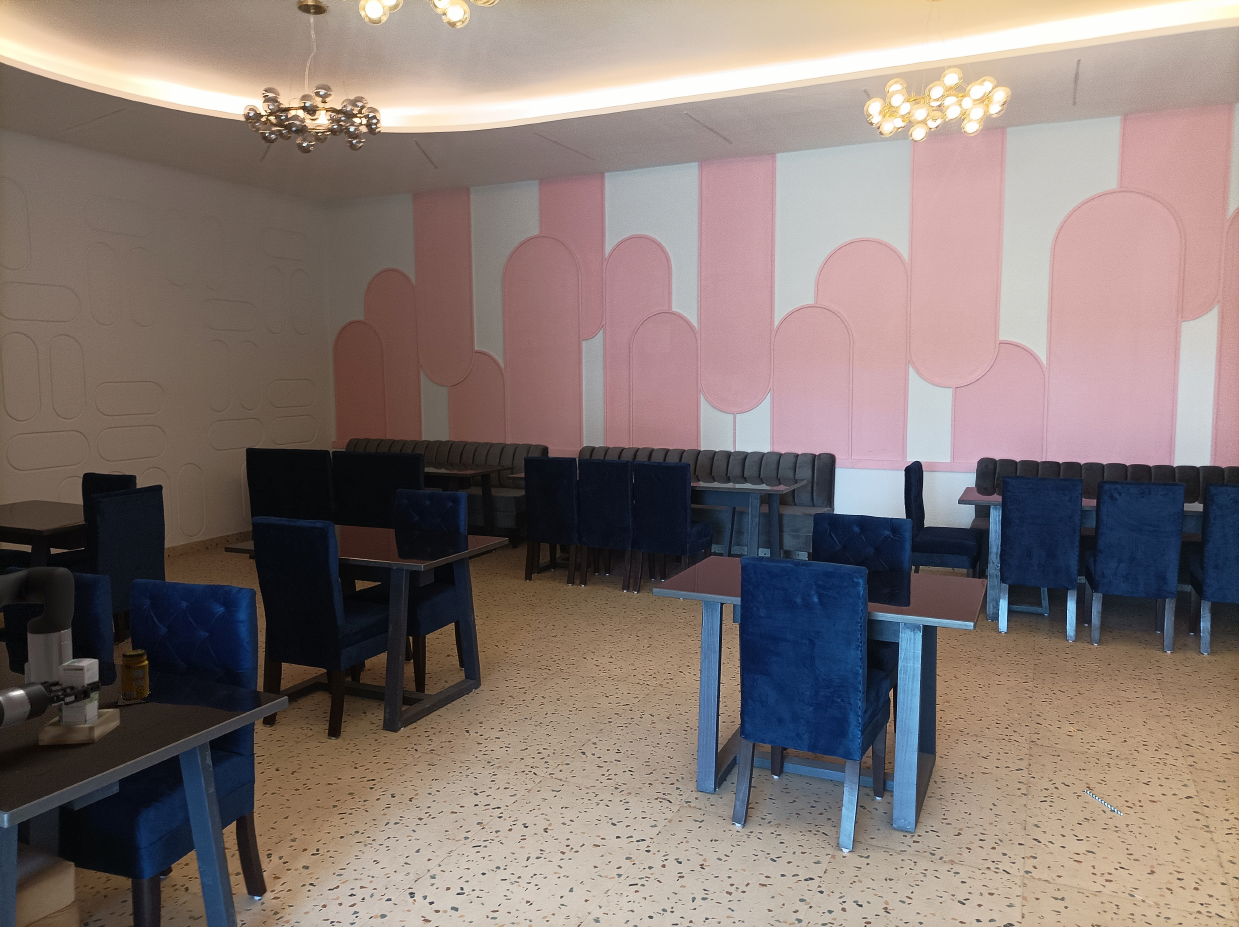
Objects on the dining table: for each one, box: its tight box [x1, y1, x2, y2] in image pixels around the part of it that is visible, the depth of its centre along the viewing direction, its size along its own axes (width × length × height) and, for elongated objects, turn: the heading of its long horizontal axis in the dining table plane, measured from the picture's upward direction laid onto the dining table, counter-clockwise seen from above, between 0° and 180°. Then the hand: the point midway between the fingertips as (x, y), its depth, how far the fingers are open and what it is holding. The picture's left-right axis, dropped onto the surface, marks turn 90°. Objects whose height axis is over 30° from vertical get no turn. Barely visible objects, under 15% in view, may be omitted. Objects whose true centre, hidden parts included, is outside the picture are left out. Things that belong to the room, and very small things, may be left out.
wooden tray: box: [37, 708, 121, 746], centre depth 189 cm, size 11×11×4 cm
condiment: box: [120, 649, 150, 701], centre depth 212 cm, size 7×8×12 cm
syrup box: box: [57, 658, 99, 726], centre depth 188 cm, size 6×6×14 cm
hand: (87, 683), depth 190 cm, fingers closed on syrup box, 7 cm apart
